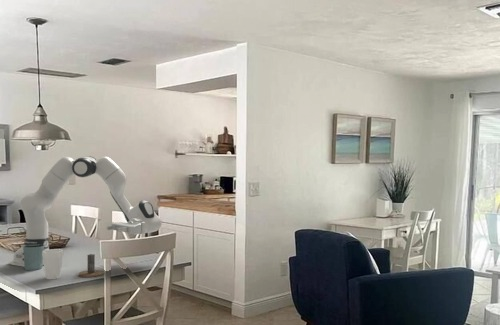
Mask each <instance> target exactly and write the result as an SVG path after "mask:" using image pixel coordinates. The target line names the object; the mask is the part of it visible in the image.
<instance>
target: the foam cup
mask: <svg viewBox="0 0 500 325" xmlns="http://www.w3.org/2000/svg"><path fill="white" fill-rule="evenodd" d="M63 256H64V250H63V249H62V248H61V249H60V248H53V249H52V248H51V249H50V248H49V250H44V251H42V257H43V262H44V265H43V267H44V275H45V276H44V277H45V279H46V280H57V279H59V278H61V272H62V270H61V269H62V266H63V265H62V264H63ZM56 278H57V279H56Z"/></svg>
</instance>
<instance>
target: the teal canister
mask: <svg viewBox="0 0 500 325" xmlns="http://www.w3.org/2000/svg"><path fill="white" fill-rule="evenodd" d="M22 246H23V245H22ZM23 251H24V267H23V268H24V270H25V271H28V272H29V271H32V272H33V271H38V270H39V271H40V270H42V269H43V266H44V265H43V257H42V251H44V245H40V244H34V245H26V246H23Z"/></svg>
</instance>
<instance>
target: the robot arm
mask: <svg viewBox="0 0 500 325" xmlns="http://www.w3.org/2000/svg"><path fill="white" fill-rule="evenodd" d="M49 169H50V170H49V171H48V172H47V173H46V175H45V176H44V177H43V178H42V180H41V183H40V186H39V187H38V189H37V190H36V191H35V192H33V193H28V194H26V195H25V196H23V197H22V198H21V199H20V202H19V207H20V209H21V211H22V212H23V215H24V218H25V223H26V224H25V225H26V229H25V230H26V231H25V232H26V237H25V239H24V238H23V240H22V242H23V245H22V246H21V247H20V248H18V249H17V250H16V251H15V252H14V253H13V254H14V255H13V260H10V261H8V265H13V266H18V267H22V268H24V251H23V246H26V245H34V244H40V245H44V250H50V237H49V221H48V220H47V217H46V214H45V213H46V211H48V210H49V209H51V208H52V207H53V205H54V202H55V200H56V199H57V197H58V195H59V194H60V192H61V190H62V189H63V188H64V186H66V184H67V183H68V182H69V181H70V179H71V178H72V177H73V176H74V175H75V176H76V177H79V178H87V177H90V176H92V175H95V174H96V175H98V176H99V177H100V178H101V179H102V180H103V181H104V182H105V184H106V186H107V188H108V189H109V193H110V196H111V197H112V199H113V200H114V202H115V203H116V205H117V206H118V208H119V209H120V211H121V212H122V214H123V216H124V219H125V220H126V222H124V221H120V222H118V221H117V222H111V223H110V225H108V226H107V227H106V230H108V231H115V232H119V233H120V232H123V233H127V234H128V233H129V234H130V235H133V236H135V235H144V234H150V233H154V232H157V231H159V230H160V229H161V228H162V223H163V222H162V219H161V217H160V216H158V215H157V213H156V212H155V209H154V207H153V205H152V203H151V202H150V201H148V200H146V199H145V200H144V199H143V200H140V201H139V202H138V203H136V204H135V205H134V206H132V205H131V203H130V201H129V200H128V199H127V197H126V196H125V187H126V185H127V184H126V183H127V176H126V174H125V172H124V171H123V169H122V168H121V167H120V166H119V165H118V164H117V163H116V162H115V161H114V160H113V159H112V158H110V157H109V156H102V157H99V158H98V159H97V158H95V157H94V156H91V155H86V156H82V157H78V158H77V159H74V158H72V157H71V156H63V157H61V158H60V159H59V160H58V161H57V162H56V163H55V164H53V166H52V167H51V168H49ZM42 266H44V262H43V265H42Z"/></svg>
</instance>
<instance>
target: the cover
mask: <svg viewBox="0 0 500 325" xmlns="http://www.w3.org/2000/svg"><path fill="white" fill-rule="evenodd" d="M95 255H96V254H94V253H93V254H92V253H89V254H87V269H86V270H82V271H80V272H78V275H77V276H78V277H80V278H97V277H101V276H103V275H104V274H105V273H104V272H105V271H103V270H101V269H95V268H96V267H95V261H96V260H95Z"/></svg>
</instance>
